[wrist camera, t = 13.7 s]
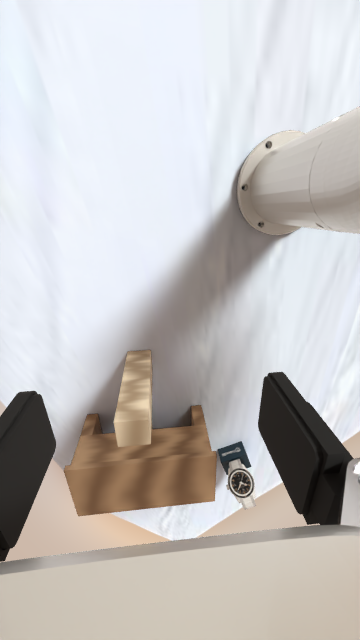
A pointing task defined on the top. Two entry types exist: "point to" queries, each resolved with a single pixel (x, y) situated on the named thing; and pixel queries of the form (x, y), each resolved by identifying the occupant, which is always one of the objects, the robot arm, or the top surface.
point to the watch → (238, 473)
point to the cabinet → (142, 469)
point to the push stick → (135, 401)
